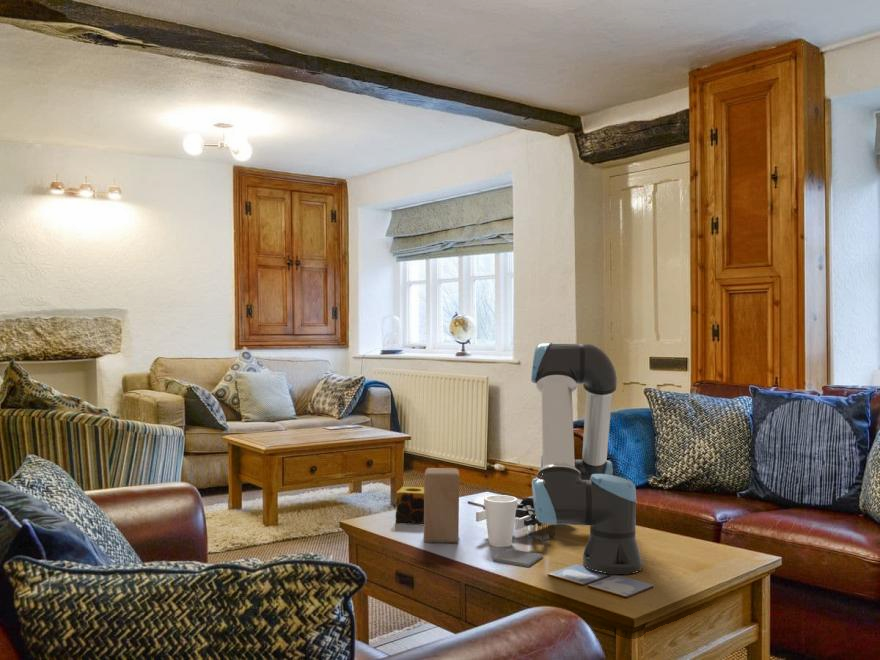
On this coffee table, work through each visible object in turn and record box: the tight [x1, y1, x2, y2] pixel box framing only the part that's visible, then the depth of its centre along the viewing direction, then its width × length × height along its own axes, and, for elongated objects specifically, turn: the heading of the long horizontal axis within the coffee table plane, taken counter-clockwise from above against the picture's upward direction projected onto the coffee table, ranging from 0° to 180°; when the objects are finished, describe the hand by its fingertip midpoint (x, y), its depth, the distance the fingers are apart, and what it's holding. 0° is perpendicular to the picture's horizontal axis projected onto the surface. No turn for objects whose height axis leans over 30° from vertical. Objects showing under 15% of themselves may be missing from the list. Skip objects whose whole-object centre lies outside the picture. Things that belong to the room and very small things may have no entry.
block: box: [423, 467, 460, 544], centre depth 226 cm, size 10×10×20 cm
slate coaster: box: [493, 548, 544, 568], centre depth 207 cm, size 10×10×1 cm
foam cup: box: [483, 494, 518, 548], centre depth 221 cm, size 10×9×13 cm
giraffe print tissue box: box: [395, 486, 424, 525], centre depth 247 cm, size 10×10×10 cm
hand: (496, 520), depth 220 cm, fingers open, 13 cm apart
